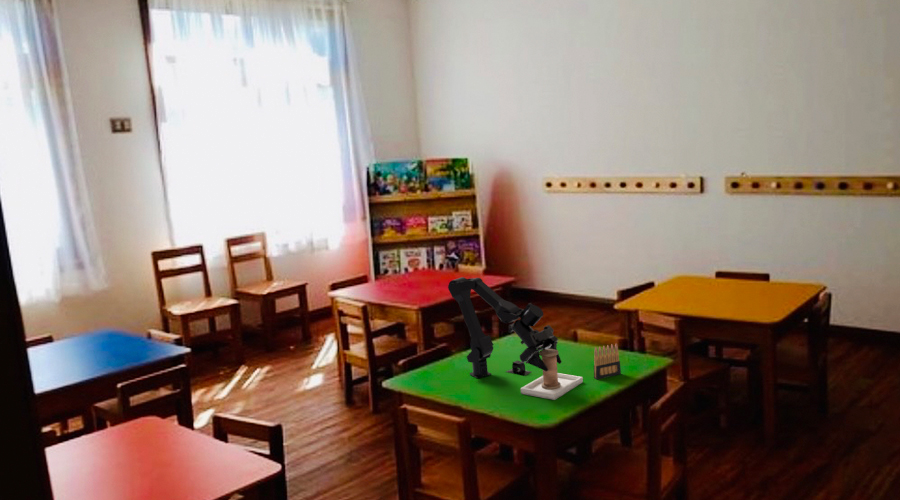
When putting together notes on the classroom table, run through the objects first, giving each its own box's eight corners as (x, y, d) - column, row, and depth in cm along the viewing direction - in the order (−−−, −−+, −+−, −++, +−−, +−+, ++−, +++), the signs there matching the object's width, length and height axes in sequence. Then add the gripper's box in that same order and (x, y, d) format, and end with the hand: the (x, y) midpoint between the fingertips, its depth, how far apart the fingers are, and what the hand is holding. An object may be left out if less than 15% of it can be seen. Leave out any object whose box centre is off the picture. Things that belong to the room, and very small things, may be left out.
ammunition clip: (596, 379, 266) (594, 348, 264) (593, 378, 267) (592, 347, 265) (621, 374, 269) (619, 343, 267) (618, 372, 271) (616, 342, 269)
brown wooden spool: (538, 388, 259) (536, 353, 258) (546, 382, 265) (543, 348, 263) (556, 390, 256) (553, 355, 254) (563, 384, 262) (561, 349, 260)
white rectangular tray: (554, 400, 249) (554, 394, 248) (520, 393, 258) (520, 388, 257) (582, 382, 264) (582, 377, 263) (550, 376, 273) (549, 371, 272)
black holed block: (537, 373, 279) (536, 362, 279) (525, 378, 274) (524, 367, 274) (512, 368, 288) (511, 357, 287) (500, 373, 283) (500, 362, 282)
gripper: (524, 326, 252) (553, 361, 247) (552, 314, 266) (580, 346, 261) (507, 345, 259) (535, 379, 253) (535, 332, 273) (562, 364, 267)
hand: (554, 366), depth 259 cm, fingers open, 9 cm apart
